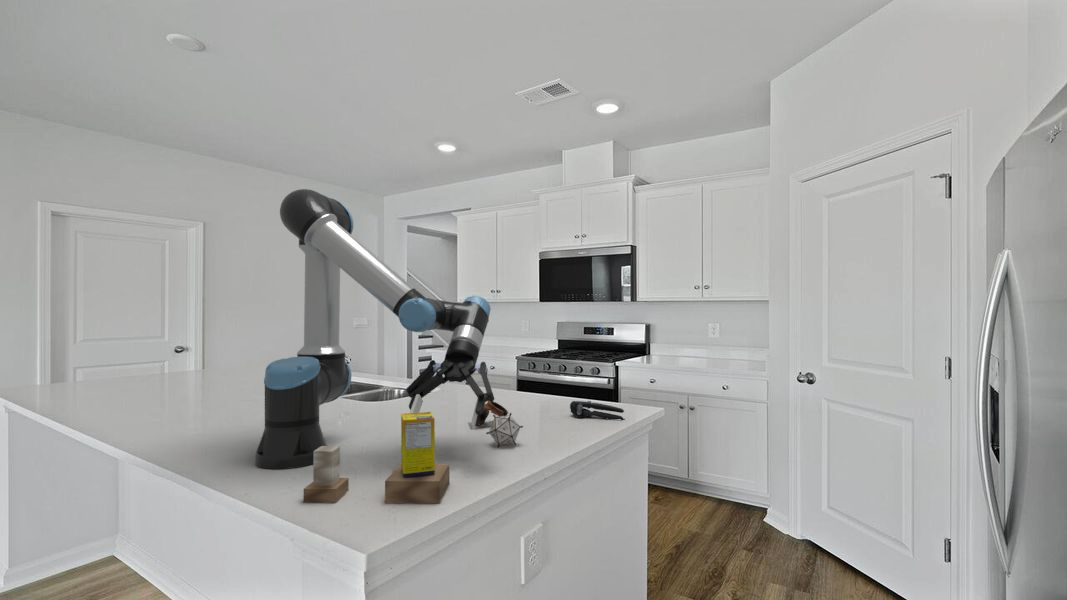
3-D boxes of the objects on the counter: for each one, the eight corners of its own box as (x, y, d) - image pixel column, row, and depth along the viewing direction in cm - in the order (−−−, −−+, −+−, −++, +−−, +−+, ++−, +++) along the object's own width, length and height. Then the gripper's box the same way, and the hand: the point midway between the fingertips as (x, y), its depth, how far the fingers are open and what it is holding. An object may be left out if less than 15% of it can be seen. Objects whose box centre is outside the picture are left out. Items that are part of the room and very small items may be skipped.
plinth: (384, 502, 93) (384, 480, 93) (400, 483, 102) (400, 463, 103) (439, 503, 92) (439, 481, 92) (449, 484, 102) (449, 464, 102)
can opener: (567, 418, 163) (566, 401, 163) (572, 414, 170) (572, 397, 170) (622, 423, 157) (622, 404, 157) (625, 418, 164) (625, 400, 164)
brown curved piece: (481, 421, 160) (494, 399, 160) (502, 438, 156) (516, 415, 156) (460, 419, 150) (474, 395, 150) (483, 437, 145) (497, 412, 145)
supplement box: (431, 465, 101) (431, 410, 102) (435, 475, 96) (435, 417, 96) (400, 468, 100) (400, 412, 100) (402, 478, 94) (402, 419, 94)
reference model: (303, 502, 93) (303, 453, 93) (317, 490, 99) (318, 444, 99) (335, 502, 93) (336, 453, 93) (348, 490, 99) (348, 444, 99)
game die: (510, 461, 130) (521, 435, 125) (479, 449, 130) (489, 422, 125) (518, 436, 138) (529, 410, 132) (489, 425, 138) (498, 399, 133)
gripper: (516, 359, 123) (499, 437, 108) (420, 357, 128) (392, 430, 113) (511, 339, 118) (493, 417, 103) (411, 337, 123) (380, 411, 108)
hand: (440, 424), depth 108 cm, fingers open, 13 cm apart
